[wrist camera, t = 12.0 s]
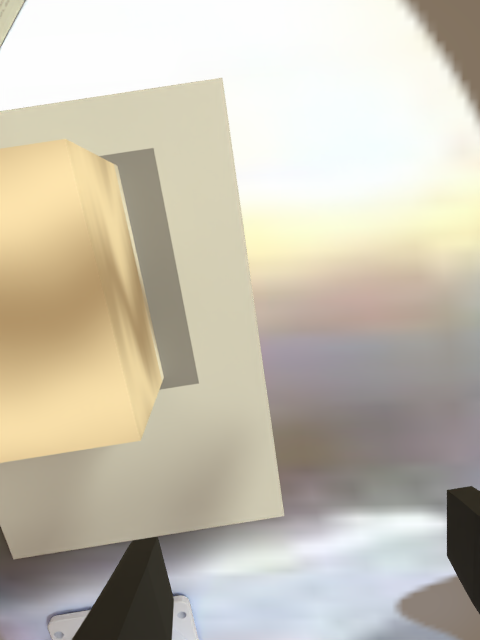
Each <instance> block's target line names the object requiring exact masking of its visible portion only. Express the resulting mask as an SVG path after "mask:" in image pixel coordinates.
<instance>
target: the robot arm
mask: <svg viewBox="0 0 480 640" xmlns="http://www.w3.org/2000/svg"><path fill="white" fill-rule="evenodd" d="M447 557H448V559H449V561H450V562H451V564H452V566H453V568H454V570H455V572H456V574H457V576H458V578H459V580H460V581H461V583H462V585H463V587H464V589H465V590H466V592H467V594H468V596H469V597H470V599H471V601H472V603H473V604H474V606H475V608H476V609H477V611H478V612H479V614H480V491H479V490H477V489H475V488H474V487H472V486H470V487H463V488H457V489H451V490H447ZM48 630H49V633H50V635H51V638H52V640H199V638H198V634H197V630H196V626H195V622H194V618H193V614H192V609H191V605H190V601H189V599H188V598H187V597H186V596H183V595H182V596H173V594H172V590H171V587H170V583H169V579H168V575H167V571H166V567H165V563H164V559H163V555H162V551H161V548H160V544H159V540H158V537H152V538H146V539H139V540H133V541H132V543H131V544H130V545H129V547H128V549H127V550H126V552H125V554H124V555H123V557H122V559H121V560H120V562H119V564H118V566H117V567H116V569H115V571H114V572H113V574H112V576H111V577H110V579H109V581H108V582H107V584H106V586H105V587H104V589H103V591H102V592H101V594H100V596H99V597H98V599H97V600H96V602H95V604H94V605H93V607H92V608H91V610H87V611H81V612H75V613H68V614H62V615H57V616H54V617H52V618H51V620H50V622H49V625H48Z"/></svg>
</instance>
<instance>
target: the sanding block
mask: <svg viewBox="0 0 480 640" xmlns="http://www.w3.org/2000/svg"><path fill="white" fill-rule="evenodd" d="M163 378H164V376H163V371H162V367H161V362H160V358H159V353H158V349H157V344H156V339H155V335H154V330H153V326H152V321H151V317H150V312H149V307H148V303H147V298H146V294H145V289H144V285H143V280H142V275H141V271H140V266H139V262H138V257H137V253H136V248H135V243H134V239H133V234H132V230H131V225H130V221H129V216H128V212H127V207H126V202H125V198H124V193H123V189H122V184H121V180H120V175H119V170H118V166H117V165H115V164H113V163H111V162H109V161H107V160H105V159H103V158H101V157H99V156H98V155H96V154H94V153H92V152H90V151H88V150H86V149H84V148H82V147H80V146H78V145H76V144H75V143H73V142H71V141H69V140H67V139H61V140H54V141H47V142H41V143H34V144H28V145H21V146H14V147H8V148H1V149H0V463H3V462H9V461H15V460H22V459H28V458H34V457H41V456H47V455H54V454H60V453H66V452H73V451H79V450H85V449H92V448H98V447H104V446H111V445H117V444H123V443H130V442H136V441H141V439H142V436H143V433H144V430H145V428H146V425H147V422H148V419H149V417H150V414H151V411H152V408H153V406H154V403H155V400H156V398H157V395H158V392H159V389H160V387H161V384H162V381H163Z"/></svg>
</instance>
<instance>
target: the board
mask: <svg viewBox="0 0 480 640" xmlns="http://www.w3.org/2000/svg"><path fill="white" fill-rule="evenodd" d="M61 139H67V140H69V141H71V142H73V143H75V144H76V145H78V146H80V147H82V148H84V149H86V150H88V151H90V152H92V153H94V154H96V155H98V156H99V157H101V158H103V159H105V160H107V161H109V162H111V163H113V164H115V165H117V166H118V170H119V175H120V180H121V184H122V189H123V193H124V198H125V202H126V207H127V212H128V216H129V221H130V225H131V230H132V234H133V239H134V243H135V248H136V253H137V257H138V262H139V266H140V271H141V275H142V280H143V285H144V289H145V294H146V298H147V303H148V307H149V312H150V317H151V321H152V326H153V330H154V335H155V339H156V344H157V349H158V353H159V358H160V362H161V367H162V371H163V376H164V378H163V381H162V384H161V387H160V389H159V392H158V395H157V398H156V400H155V403H154V406H153V408H152V411H151V414H150V417H149V419H148V422H147V425H146V428H145V430H144V433H143V436H142V439H141V441H136V442H130V443H123V444H117V445H111V446H104V447H98V448H92V449H85V450H79V451H73V452H66V453H60V454H54V455H47V456H41V457H34V458H28V459H22V460H15V461H9V462H3V463H0V526H1V528H2V531H3V533H4V536H5V539H6V541H7V544H8V546H9V549H10V551H11V554H12V556H13V559H19V558H25V557H31V556H37V555H44V554H50V553H56V552H62V551H69V550H75V549H81V548H87V547H93V546H100V545H106V544H112V543H118V542H125V541H131V540H137V539H143V538H150V537H156V536H162V535H168V534H174V533H181V532H187V531H193V530H199V529H206V528H212V527H218V526H224V525H230V524H237V523H243V522H249V521H255V520H262V519H268V518H274V517H280V516H284V511H283V504H282V497H281V489H280V482H279V475H278V468H277V461H276V454H275V447H274V440H273V433H272V426H271V419H270V412H269V405H268V398H267V391H266V384H265V377H264V370H263V362H262V355H261V348H260V341H259V334H258V327H257V320H256V313H255V306H254V299H253V292H252V285H251V278H250V271H249V264H248V257H247V250H246V242H245V235H244V228H243V221H242V214H241V207H240V200H239V193H238V186H237V179H236V172H235V165H234V158H233V151H232V144H231V137H230V130H229V123H228V115H227V108H226V101H225V94H224V87H223V80H222V78H218V79H211V80H205V81H198V82H191V83H185V84H178V85H171V86H165V87H158V88H152V89H145V90H138V91H132V92H125V93H118V94H112V95H105V96H99V97H92V98H85V99H79V100H72V101H65V102H59V103H52V104H46V105H39V106H32V107H26V108H19V109H12V110H6V111H0V149H1V148H8V147H14V146H21V145H28V144H34V143H41V142H47V141H54V140H61Z"/></svg>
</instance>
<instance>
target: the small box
mask: <svg viewBox="0 0 480 640" xmlns="http://www.w3.org/2000/svg"><path fill="white" fill-rule="evenodd" d="M24 1H25V0H0V46H1V44H2V42H3V41H4V39H5V37H6V35H7V33H8V31H9V29H10V27H11V25H12V23H13V22H14V20H15V18H16V16H17V14H18V12H19V10H20V9H21V7H22V5H23V3H24Z"/></svg>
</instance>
